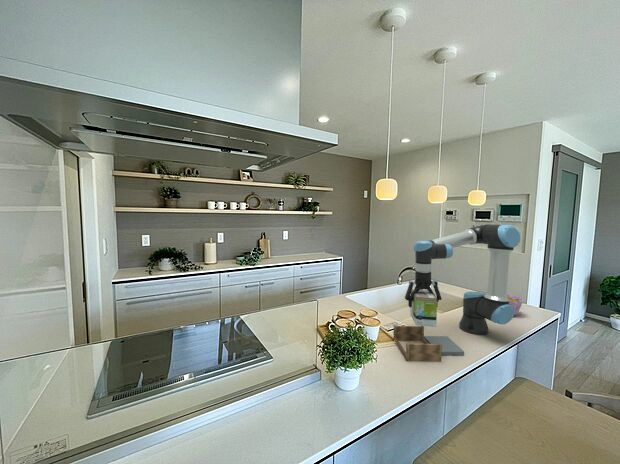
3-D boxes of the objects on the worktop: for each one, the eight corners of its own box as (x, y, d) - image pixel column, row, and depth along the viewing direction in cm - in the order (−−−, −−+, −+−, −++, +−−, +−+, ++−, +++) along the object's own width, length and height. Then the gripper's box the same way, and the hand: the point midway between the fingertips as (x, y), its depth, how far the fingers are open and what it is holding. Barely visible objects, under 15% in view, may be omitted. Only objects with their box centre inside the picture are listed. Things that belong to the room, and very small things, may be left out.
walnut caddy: (422, 339, 145) (423, 325, 145) (441, 361, 124) (442, 344, 123) (393, 339, 146) (393, 325, 145) (406, 361, 124) (407, 344, 124)
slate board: (446, 339, 146) (446, 336, 146) (464, 355, 129) (464, 351, 129) (423, 339, 146) (423, 335, 146) (437, 355, 129) (437, 351, 129)
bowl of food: (480, 310, 191) (481, 294, 191) (500, 307, 197) (501, 292, 197) (508, 320, 172) (509, 303, 172) (529, 317, 178) (530, 300, 178)
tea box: (437, 327, 126) (437, 297, 125) (415, 326, 128) (415, 296, 127) (429, 315, 141) (429, 288, 140) (409, 314, 143) (410, 288, 142)
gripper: (442, 269, 136) (441, 310, 138) (398, 269, 137) (398, 310, 138) (449, 272, 129) (449, 315, 130) (403, 273, 129) (402, 316, 131)
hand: (422, 313), depth 134 cm, fingers closed on tea box, 11 cm apart
